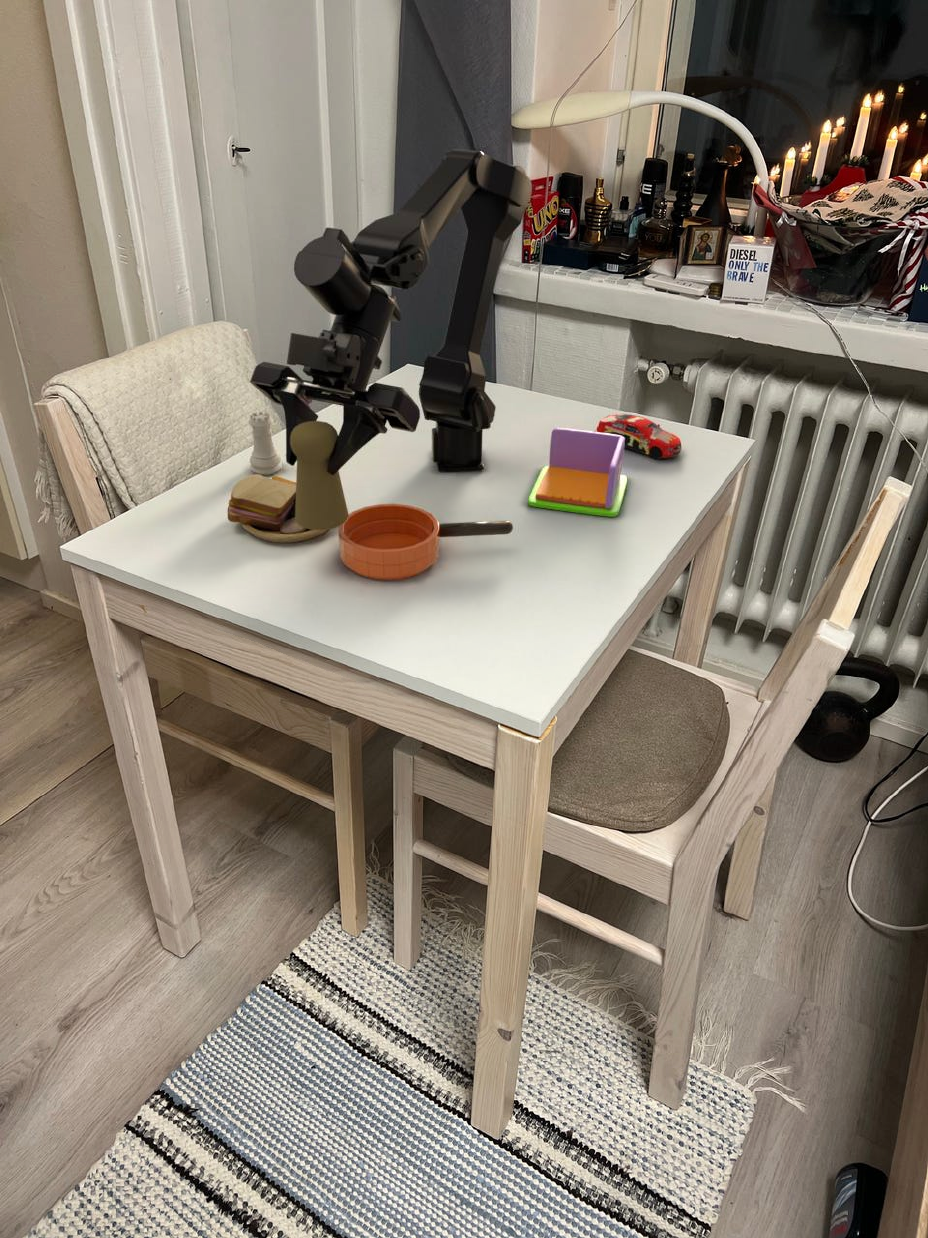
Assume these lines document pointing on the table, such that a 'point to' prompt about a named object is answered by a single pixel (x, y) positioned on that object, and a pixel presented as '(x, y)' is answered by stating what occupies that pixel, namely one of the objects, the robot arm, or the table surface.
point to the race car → (641, 435)
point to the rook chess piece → (263, 446)
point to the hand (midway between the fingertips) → (309, 468)
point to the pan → (389, 541)
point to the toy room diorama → (582, 473)
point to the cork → (317, 477)
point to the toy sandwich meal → (268, 509)
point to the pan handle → (474, 528)
